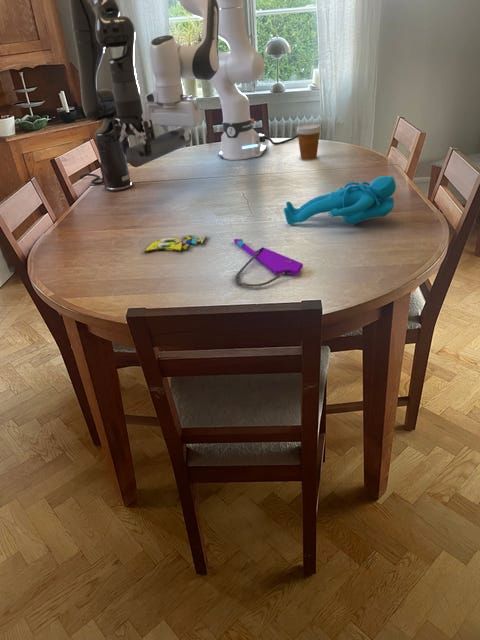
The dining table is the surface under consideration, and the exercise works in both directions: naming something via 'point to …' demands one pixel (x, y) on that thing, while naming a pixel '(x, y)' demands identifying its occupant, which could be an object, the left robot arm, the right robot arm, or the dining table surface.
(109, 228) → the dining table surface
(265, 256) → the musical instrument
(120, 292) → the dining table surface
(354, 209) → the toy
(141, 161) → the rod
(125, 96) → the left robot arm
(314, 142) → the cup of beer
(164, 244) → the toy
